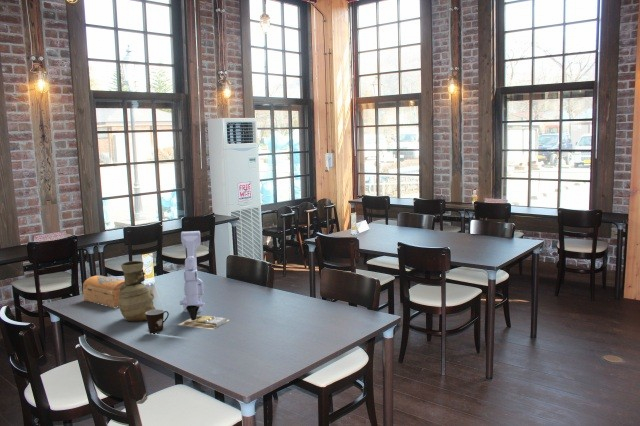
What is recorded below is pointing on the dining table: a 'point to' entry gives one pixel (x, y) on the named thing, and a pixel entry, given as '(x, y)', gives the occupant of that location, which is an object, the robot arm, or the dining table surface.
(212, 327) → the jig board
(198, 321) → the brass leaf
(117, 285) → the wooden box
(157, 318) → the coffee mug
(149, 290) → the ceramic vessel
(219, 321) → the panel
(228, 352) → the dining table surface
